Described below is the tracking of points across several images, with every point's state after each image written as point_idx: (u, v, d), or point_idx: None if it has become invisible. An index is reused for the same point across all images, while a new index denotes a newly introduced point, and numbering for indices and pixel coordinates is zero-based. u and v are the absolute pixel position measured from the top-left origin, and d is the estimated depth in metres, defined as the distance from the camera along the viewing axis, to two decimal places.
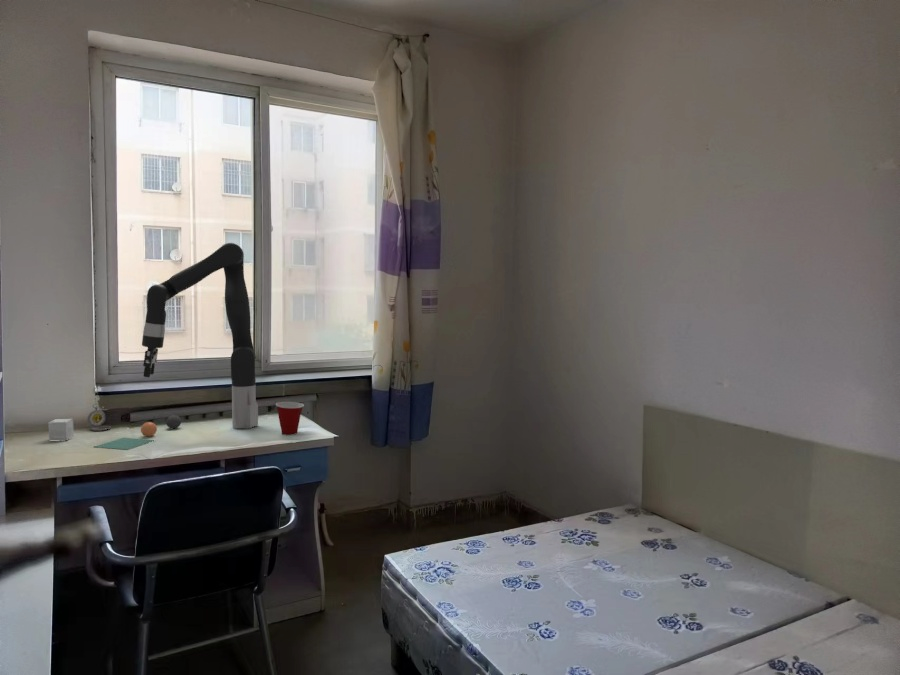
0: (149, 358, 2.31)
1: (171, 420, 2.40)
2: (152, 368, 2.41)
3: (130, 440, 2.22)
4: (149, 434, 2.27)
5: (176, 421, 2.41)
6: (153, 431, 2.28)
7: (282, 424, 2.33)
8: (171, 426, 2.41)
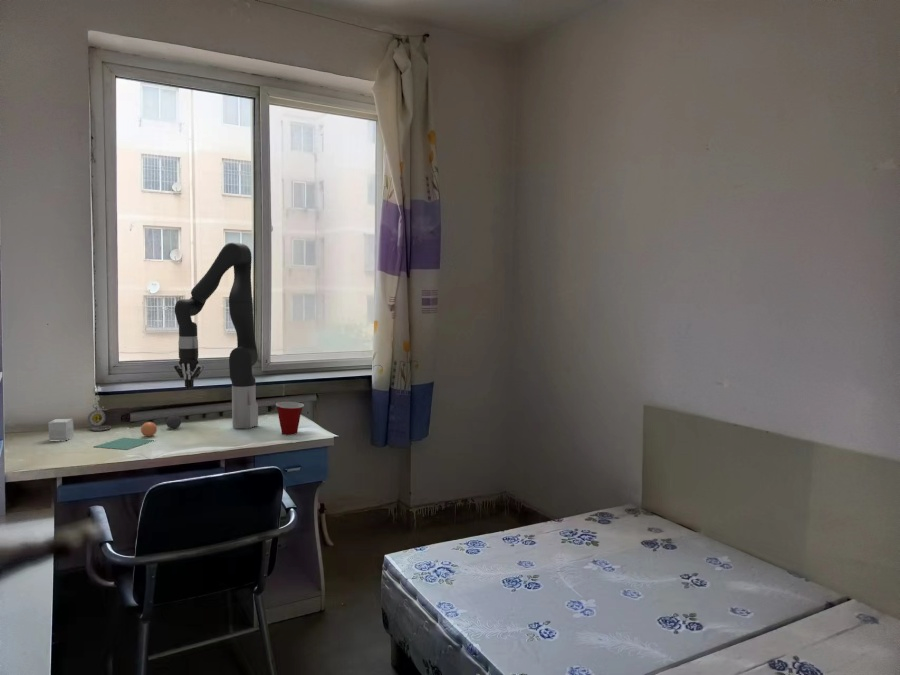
0: (199, 372, 2.51)
1: (171, 420, 2.40)
2: None
3: (130, 440, 2.22)
4: (149, 434, 2.27)
5: (176, 421, 2.41)
6: (153, 431, 2.28)
7: (282, 424, 2.33)
8: (171, 426, 2.41)
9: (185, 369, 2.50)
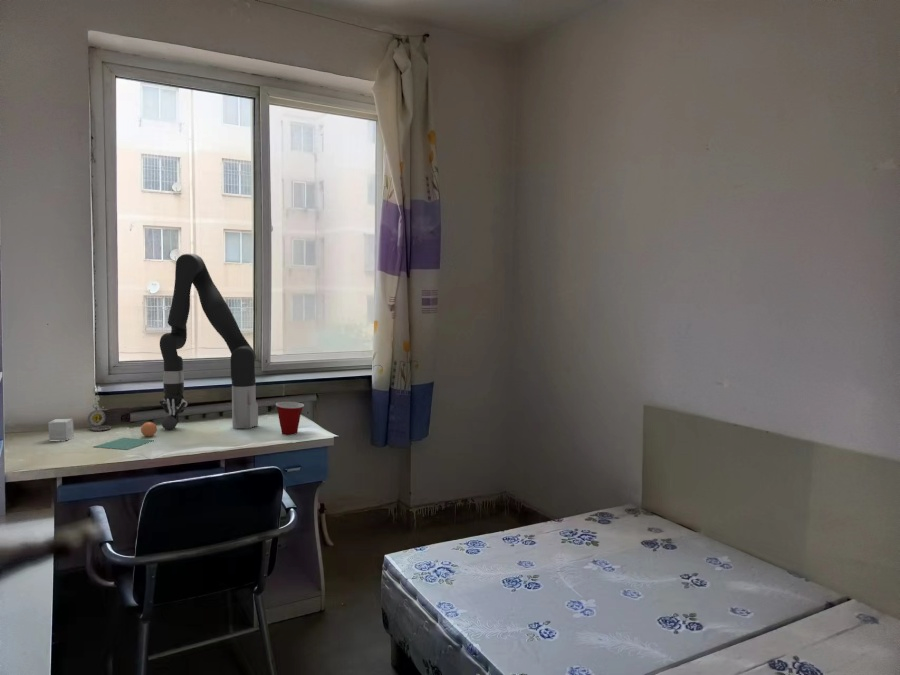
0: (184, 408, 2.43)
1: (167, 424, 2.38)
2: (175, 417, 2.45)
3: (130, 440, 2.22)
4: (149, 434, 2.27)
5: (171, 424, 2.38)
6: (153, 431, 2.28)
7: (282, 424, 2.33)
8: (169, 429, 2.39)
9: (170, 404, 2.43)
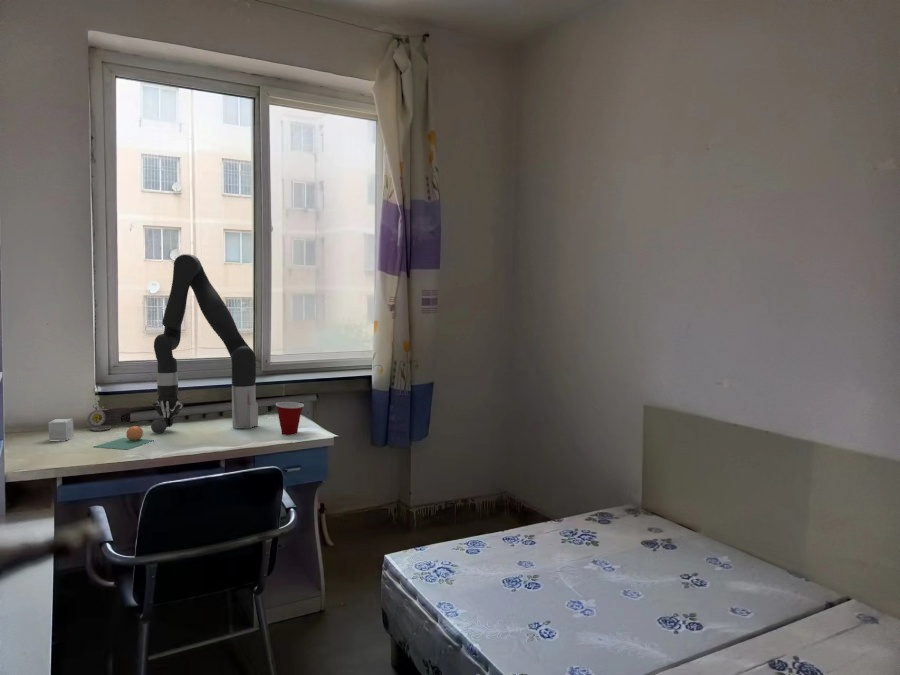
0: (179, 410, 2.39)
1: None
2: None
3: (130, 440, 2.22)
4: None
5: (165, 429, 2.35)
6: (142, 432, 2.22)
7: (282, 424, 2.33)
8: None
9: (164, 407, 2.38)
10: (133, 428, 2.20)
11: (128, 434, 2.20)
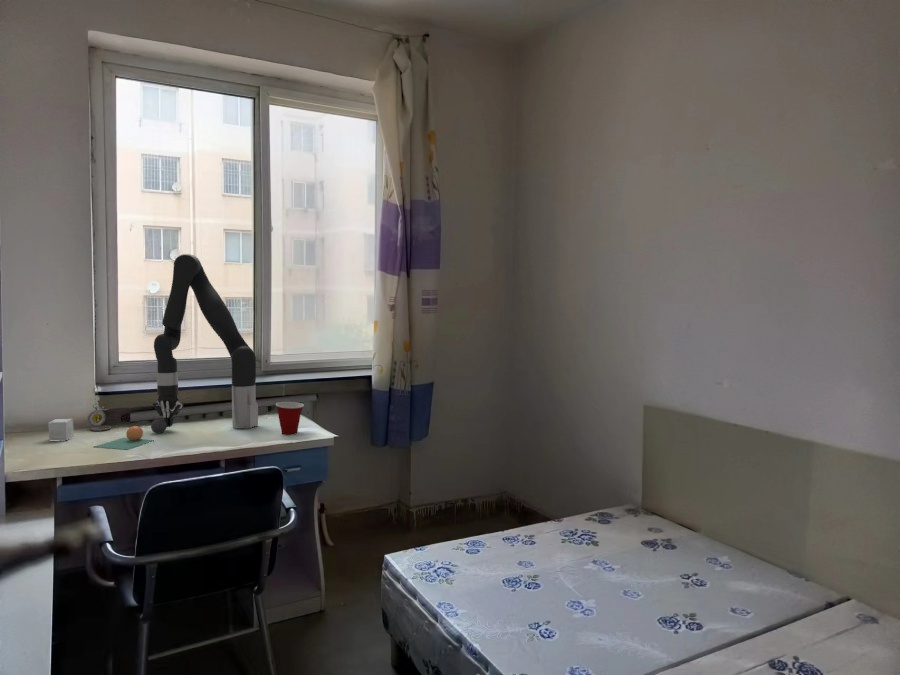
0: (179, 410, 2.39)
1: None
2: None
3: (130, 440, 2.22)
4: None
5: (165, 429, 2.35)
6: (142, 432, 2.22)
7: (282, 424, 2.33)
8: None
9: (164, 407, 2.38)
10: (133, 428, 2.20)
11: (128, 434, 2.20)
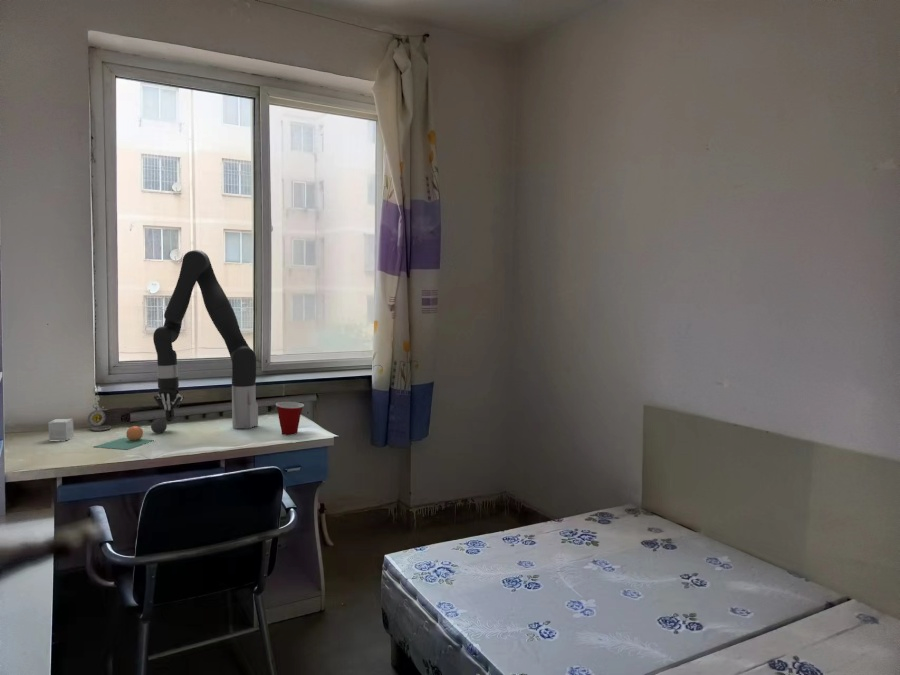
0: (180, 402, 2.39)
1: None
2: None
3: (130, 440, 2.22)
4: None
5: (165, 429, 2.35)
6: (142, 432, 2.22)
7: (282, 424, 2.33)
8: None
9: (165, 399, 2.39)
10: (133, 428, 2.20)
11: (128, 434, 2.20)
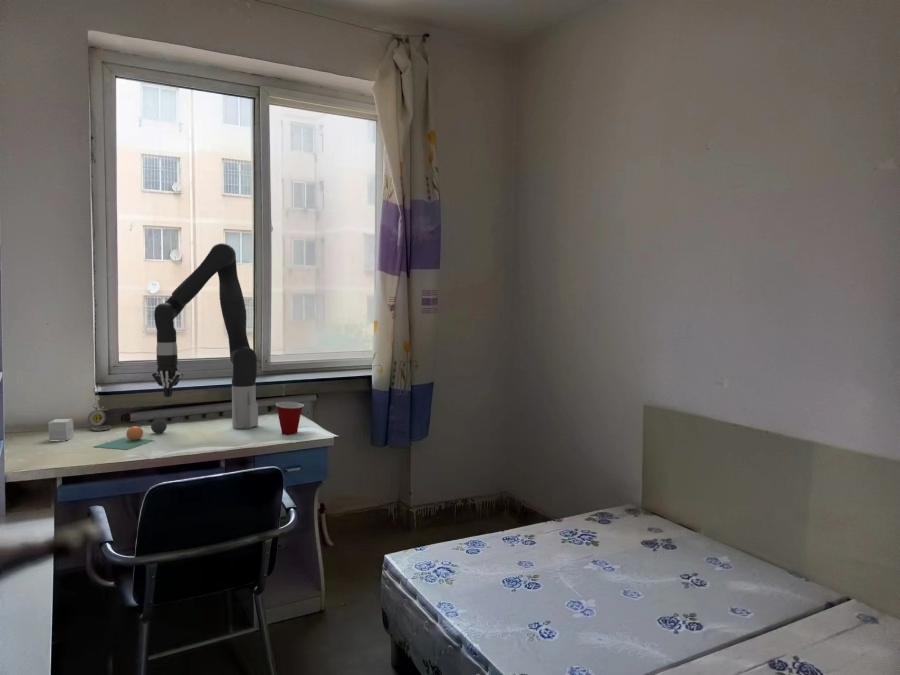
0: (178, 380, 2.38)
1: None
2: None
3: (130, 440, 2.22)
4: None
5: (165, 429, 2.35)
6: (142, 432, 2.22)
7: (282, 424, 2.33)
8: None
9: (164, 377, 2.37)
10: (133, 428, 2.20)
11: (128, 434, 2.20)
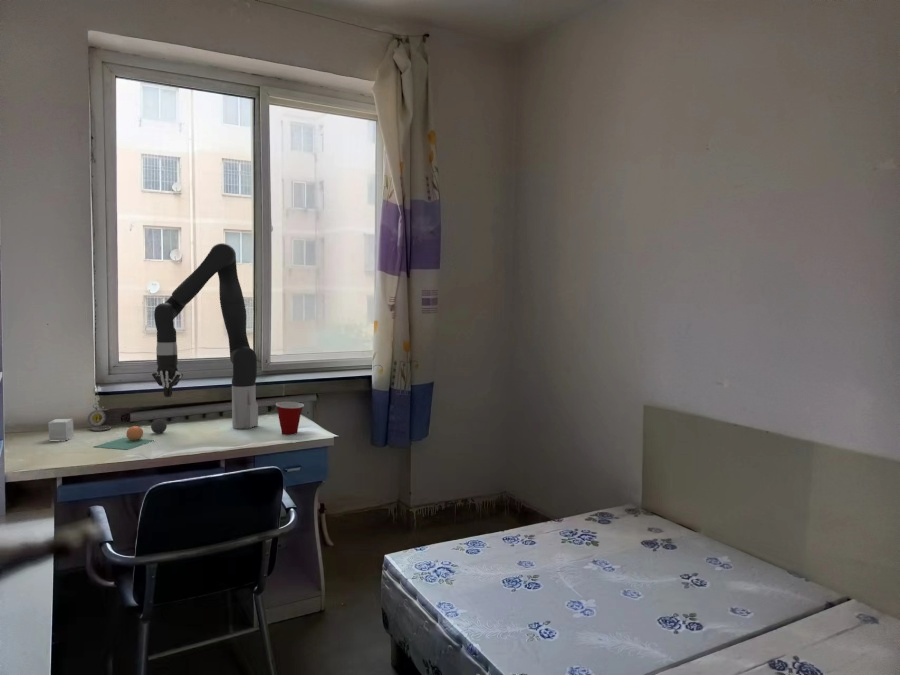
0: (178, 380, 2.38)
1: None
2: None
3: (130, 440, 2.22)
4: None
5: (165, 429, 2.35)
6: (142, 432, 2.22)
7: (282, 424, 2.33)
8: None
9: (164, 377, 2.37)
10: (133, 428, 2.20)
11: (128, 434, 2.20)
